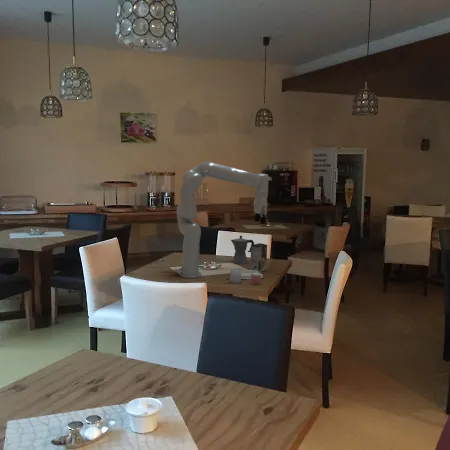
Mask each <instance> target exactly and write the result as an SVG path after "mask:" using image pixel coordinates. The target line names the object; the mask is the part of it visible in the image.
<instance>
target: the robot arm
mask: <svg viewBox="0 0 450 450" xmlns="http://www.w3.org/2000/svg"><path fill="white" fill-rule="evenodd" d="M206 177H208V178H213V179H217V180H221V181H225V182H228V183H236V184H241V185H244V186H245V185H246V186H248V187H254V189H255V192H254V193H255V194H254V197H255V199H254V205H253V206H254V207H253V212H254V222H260V225H266V224H267V212H268V196H269V175H268V174H267V173H254V172H250V171H245V170H242V169H238V168H236V167H232V166H228V165H225V164H221V163H216V162H212V161H203V162H201V163H199V164H197V165H196V166H193V167H192V168H191V169H189V170H187V171H186V172H185V173H184V174H183V176H182V181H183V182H182V184H181V185H180V189H179V200H180V202H179V203H178V205H177V207H176V219H177V225H178V226H177V227H178V230H179V232H180V233H181V234H182V235H183V241H182V266H181V267H180V268H174V269H173V271H174V273H177V274H178V273H179V276H180V277H182V278H187V279H188V278H189V279H194V278H195V279H196V278H199V277H201V276H202V272H200V270H199V269H200V243H201V242H200V240H201V235H202V230H201V226H200V225H199V224H198V222H196V221H194V219H195V218H196V216H197V212H198V210H197V203H196V191H197V189H198V187H199V186H200V185H201V184H202V182H203V179H205V178H206Z"/></svg>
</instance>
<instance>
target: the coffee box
mask: <svg viewBox="0 0 450 450" xmlns="http://www.w3.org/2000/svg"><path fill="white" fill-rule="evenodd" d="M250 247H251V252H250V260H249V261H250V266H249V267H250V268H249V270H257V271H258V272H259V273H261V272H265V271H267V266H268V265H267V261H268V244H266V243H258V242H257V243H254V245H251V244H250Z"/></svg>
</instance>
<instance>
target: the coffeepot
mask: <svg viewBox="0 0 450 450" xmlns="http://www.w3.org/2000/svg"><path fill="white" fill-rule="evenodd" d="M230 242H231V243H232V245H233V246H234V251H235V252H234V255H233V259H232V262H233V264H235V265H236V264H237V265H246V264H247V263H248V260H247V253H251V245H254V244H255V242H254V240H253V239H245V238H243V236H242V235H239V238H233V239H230ZM248 244H250V247H249V250H247V248H248ZM246 251H247V253H246Z"/></svg>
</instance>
